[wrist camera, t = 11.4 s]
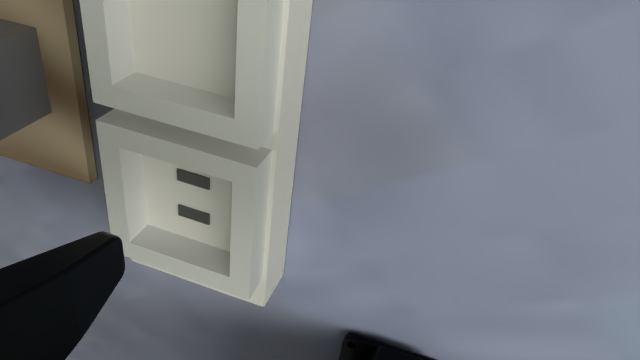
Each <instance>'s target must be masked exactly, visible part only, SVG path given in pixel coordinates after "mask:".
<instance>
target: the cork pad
mask: <svg viewBox="0 0 640 360" xmlns="http://www.w3.org/2000/svg"><path fill="white" fill-rule="evenodd" d="M0 19H4V20H8V21H12V22H16V23H20V24H24V25H28V26H32V27H36V31H37V36H38V42H39V47H40V52H41V58H42V63H43V68H44V74H45V79H46V84H47V89H48V95H49V100H50V105H51V111H52V113H50V114H48V115H46V116H44V117H43V118H41V119H39V120H37V121H35V122H33V123H32V124H30V125H28V126H26V127H24V128H22V129H21V130H19V131H17V132H15V133H13V134H11V135H10V136H8V137H6V138H4V139H2V140H0V155H3V156H6V157H9V158H12V159H15V160H18V161H21V162H24V163H28V164H31V165H34V166H37V167H40V168H43V169H46V170H49V171H52V172H55V173H58V174H61V175H64V176H67V177H71V178H74V179H77V180H80V181H83V182H86V183H89V184H91V183H92V182H93V181H95V180H96V179H97V172H96V165H95V157H94V150H93V143H92V136H91V129H90V122H89V115H88V108H87V101H86V94H85V87H84V79H83V72H82V65H81V58H80V51H79V44H78V37H77V30H76V23H75V16H74V9H73V1H72V0H0Z"/></svg>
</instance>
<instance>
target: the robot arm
mask: <svg viewBox="0 0 640 360" xmlns="http://www.w3.org/2000/svg"><path fill="white" fill-rule="evenodd" d="M124 270H125V260H124V251H123V243H122V240H121V238H120V237H118V236H116V235H113V234H110V233H107V232H97V233H95V234H92V235H89V236H87V237H84V238H81V239H79V240H76V241H73V242H71V243H68V244H65V245H63V246H60V247H57V248H55V249H52V250H49V251H47V252H44V253H41V254H38V255H36V256H33V257H30V258H28V259H25V260H22V261H20V262H17V263H14V264H12V265H9V266H6V267H4V268H1V269H0V360H65V359H66V358H67V356H68V355H69V354H70V353H71V351H72V350H73V349H74V348H75V346H76V345H77V344H78V343H79V341H80V340H81V339H82V337H83V336H84V334H85V333H86V331H87V330H88V329H89V327H90V325H91V324H92V322H93V321H94V319H95V318H96V316H97V315H98V313H99V312H100V310H101V309H102V307H103V306H104V304H105V302H106V301H107V299H108V298H109V296H110V295H111V293H112V292H113V290H114V289H115V287H116V286H117V284H118V282H119V281H120V279H121V278H122V276H123V274H124ZM352 342H353V343H352ZM339 360H429V359H426V358H423V357H420V356H418V355H415V354H412V353H409V352H406V351H403V350H400V349H398V348H395V347H392V346H389V345H386V344H383V343H381V342H378V341H375V340H372V339H369V338H366V337H363V336H361V335H358V334H355V333H348V334H346V336H345V338H344V340H343V343H342V348H341V353H340V357H339Z"/></svg>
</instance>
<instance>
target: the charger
mask: <svg viewBox="0 0 640 360" xmlns="http://www.w3.org/2000/svg"><path fill="white" fill-rule="evenodd" d="M50 113H52V111H51V105H50V100H49V95H48V89H47V84H46V79H45V74H44V68H43V63H42V58H41V52H40V47H39V42H38V36H37V31H36V27H32V26H28V25H24V24H20V23H16V22H12V21H8V20H4V19H0V140H2V139H4V138H6V137H8V136H10V135H11V134H13V133H15V132H17V131H19V130H21V129H22V128H24V127H26V126H28V125H30V124H32V123H33V122H35V121H37V120H39V119H41V118H43V117H44V116H46V115H48V114H50Z"/></svg>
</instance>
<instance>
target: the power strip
mask: <svg viewBox="0 0 640 360" xmlns="http://www.w3.org/2000/svg"><path fill="white" fill-rule="evenodd" d="M79 1H80V9H81V16H82V23H83V31H84V38H85V46H86V53H87V61H88V68H89V76H90V83H91V91H92V98H93V102H94V103H97V104H100V105H104V106H107V107H111V108H114V109H113V110H111V111H109V112H108V113H106V114H104V115H103V116H101V117H100V118H98V119H96V120H95V121H96V128H97V136H98V143H99V151H100V158H101V166H102V173H103V181H104V188H105V196H106V203H107V211H108V218H109V225H110V233H111V234H113V235H116V236H118V237H120V238H121V240H122V243H123V251H124V256H126V257H129V258H131V260H132V261H134V262H137V263H140V264H143V265H146V266H149V267H151V268H154V269H157V270H160V271H163V272H166V273H168V274H171V275H174V276H177V277H180V278H182V279H185V280H188V281H191V282H194V283H197V284H199V285H202V286H205V287H208V288H211V289H214V290H216V291H219V292H222V293H225V294H228V295H230V296H233V297H236V298H239V299H242V300H245V301H247V302H250V303H253V304H256V305H259V306H262V307H265V305H266V303H267V301H268V300H269V298H270V296H271V295H272V293H273V291H274V290H275V288H276V286H277V285H278V283H279V281H280V280H281V278H282V276H283V272H284V263H285V253H286V244H287V235H288V226H289V216H290V207H291V198H292V188H293V179H294V170H295V161H296V151H297V142H298V133H299V123H300V114H301V105H302V96H303V86H304V77H305V68H306V58H307V49H308V40H309V31H310V21H311V12H312V3H313V0H79Z"/></svg>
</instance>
